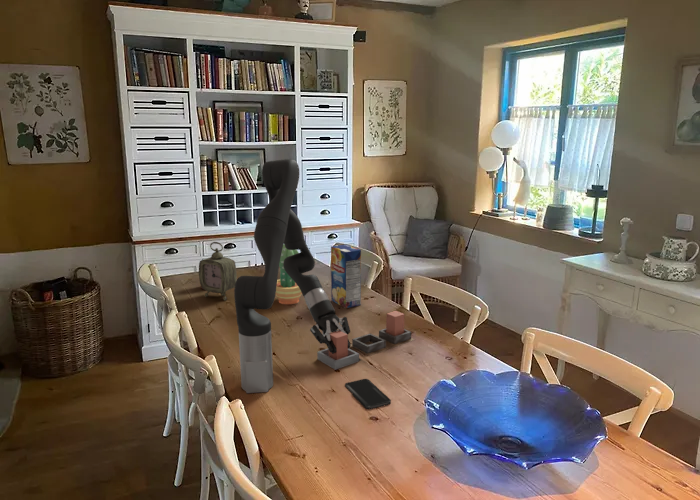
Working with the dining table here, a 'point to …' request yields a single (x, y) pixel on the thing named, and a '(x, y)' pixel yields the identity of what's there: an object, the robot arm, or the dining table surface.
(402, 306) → the dining table surface
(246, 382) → the robot arm
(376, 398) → the phone
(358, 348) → the dark grey double holder
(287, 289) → the potted cactus
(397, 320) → the block
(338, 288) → the juice carton
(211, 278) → the tabletop clock
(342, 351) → the block
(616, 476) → the dining table surface
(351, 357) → the box
